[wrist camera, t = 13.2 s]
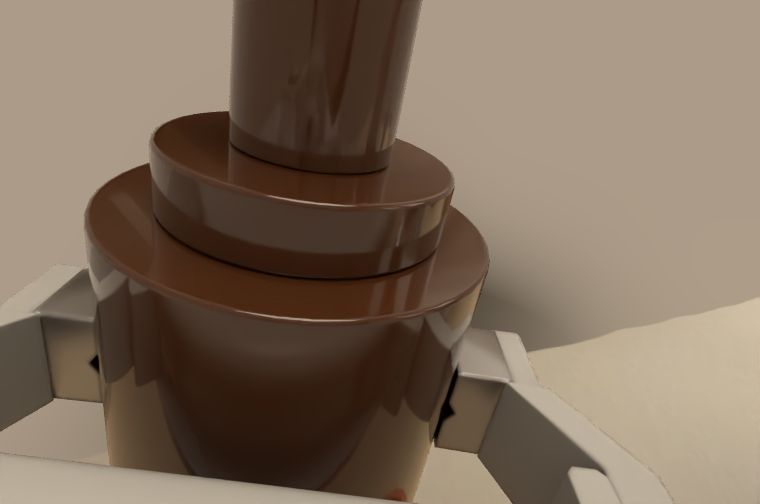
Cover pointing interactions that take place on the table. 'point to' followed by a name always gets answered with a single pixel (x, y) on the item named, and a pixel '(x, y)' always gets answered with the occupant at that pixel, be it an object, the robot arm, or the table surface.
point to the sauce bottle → (286, 268)
